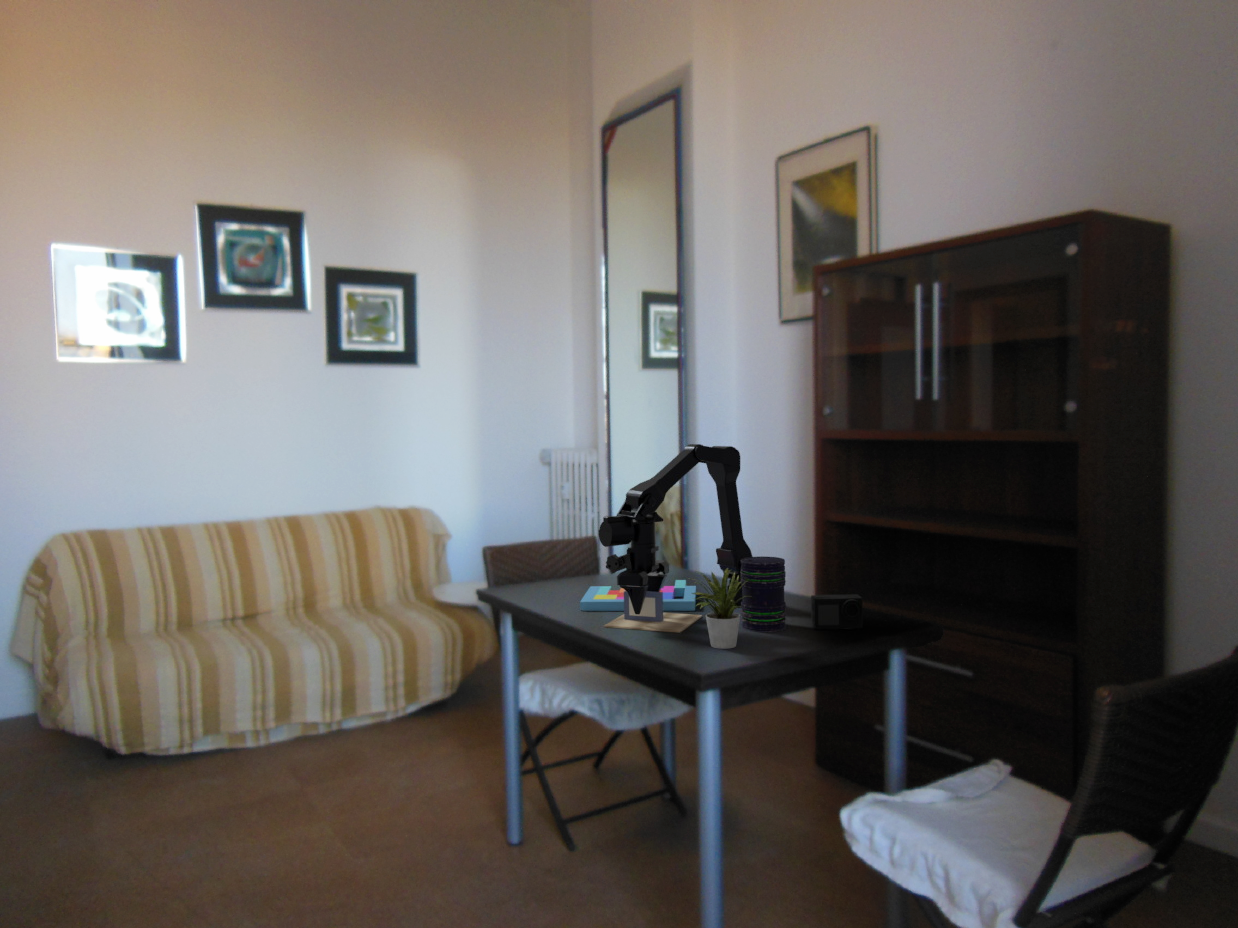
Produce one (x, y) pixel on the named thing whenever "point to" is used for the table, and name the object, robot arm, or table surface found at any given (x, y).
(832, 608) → the digital camera
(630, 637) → the table surface
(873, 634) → the table surface
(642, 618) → the card deck
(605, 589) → the tetris game
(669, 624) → the wooden mat
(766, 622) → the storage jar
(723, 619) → the house plant
